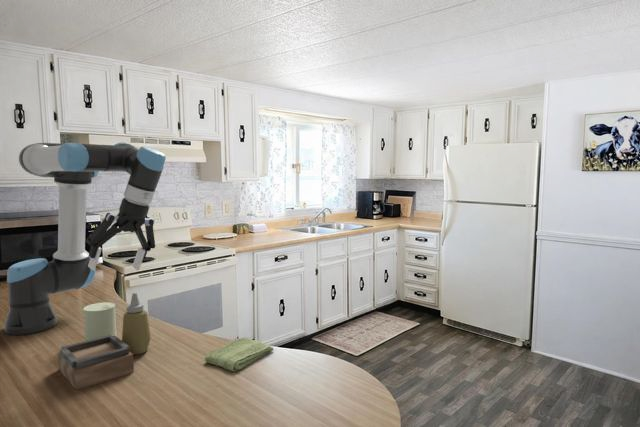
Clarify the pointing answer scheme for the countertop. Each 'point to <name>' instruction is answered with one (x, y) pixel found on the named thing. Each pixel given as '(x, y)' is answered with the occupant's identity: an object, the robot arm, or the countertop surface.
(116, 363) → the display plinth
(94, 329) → the can
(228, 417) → the countertop surface
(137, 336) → the squeeze bottle
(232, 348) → the washcloth
